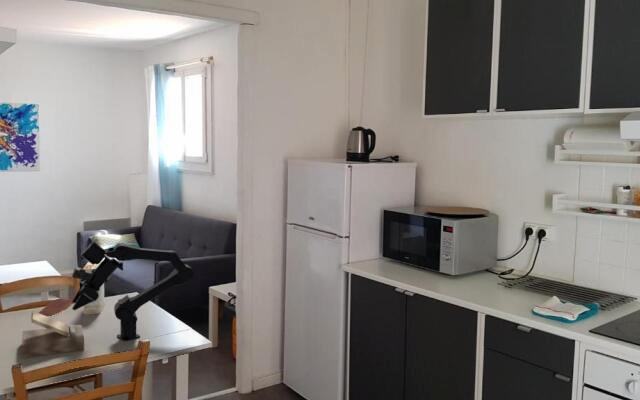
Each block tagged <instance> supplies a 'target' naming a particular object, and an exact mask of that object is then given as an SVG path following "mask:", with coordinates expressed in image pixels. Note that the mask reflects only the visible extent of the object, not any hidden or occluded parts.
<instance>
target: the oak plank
mask: <svg viewBox="0 0 640 400" xmlns="http://www.w3.org/2000/svg"><path fill="white" fill-rule="evenodd" d="M30 322H31V323H32V324H35V325H38V326H40V327H42V328H44V329H50V330H52V331H55V332H57V333H60V334H63V335H65V336H68V335H69V328H68V326H69V324H67V323H64V322H62V321H59V320H57V319H53V318H52V317H47V316H44V315H42V314H39V312H36V311H35V310H34V311H32V312H31V317H30Z"/></svg>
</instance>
